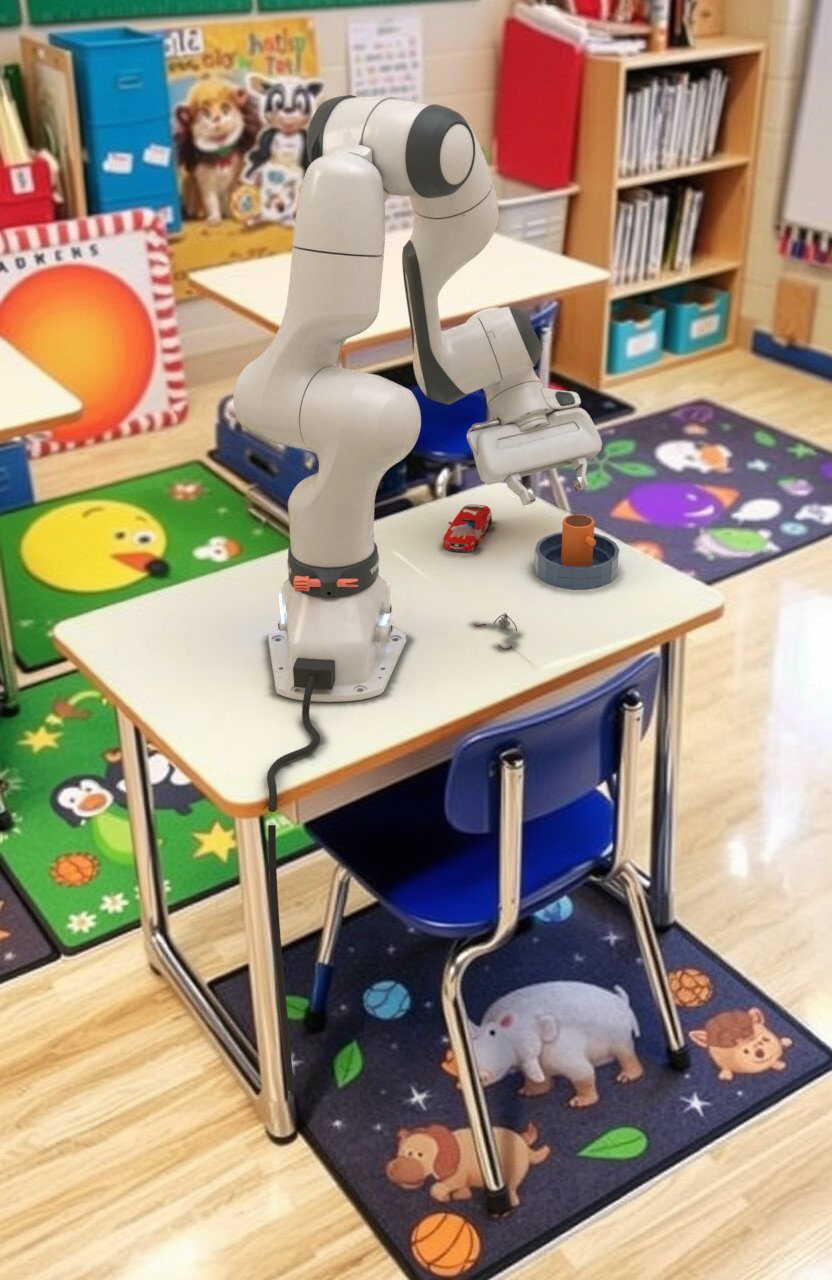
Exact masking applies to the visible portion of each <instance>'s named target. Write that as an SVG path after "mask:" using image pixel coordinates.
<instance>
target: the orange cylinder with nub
mask: <svg viewBox="0 0 832 1280" xmlns="http://www.w3.org/2000/svg"><path fill="white" fill-rule="evenodd" d="M595 522H596V521H595V519H594V518H593V517H592V516H589V515H587V514H580V513H579V514H578V513H577V514H575V513H574V514H570V515H566V516H565V517H563V519H562V529H561V530H562V531H561V532H562V551H561V565H566V566H572V567H588V566H592V560H593V546H594V545H595V544H596V541H595V540H594V533H595Z"/></svg>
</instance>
